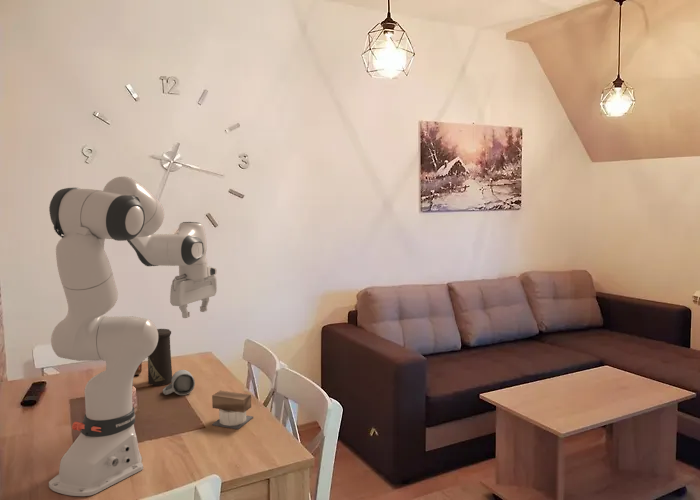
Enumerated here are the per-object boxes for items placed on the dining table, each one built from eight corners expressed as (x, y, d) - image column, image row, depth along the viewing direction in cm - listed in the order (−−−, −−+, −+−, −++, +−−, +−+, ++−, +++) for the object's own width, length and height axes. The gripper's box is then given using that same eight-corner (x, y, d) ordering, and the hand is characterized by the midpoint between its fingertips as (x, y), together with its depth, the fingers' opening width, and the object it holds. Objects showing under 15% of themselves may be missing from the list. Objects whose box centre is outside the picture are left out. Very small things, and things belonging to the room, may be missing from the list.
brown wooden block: (243, 412, 165) (243, 399, 165) (212, 408, 169) (212, 395, 169) (251, 407, 170) (251, 394, 169) (220, 402, 173) (220, 390, 173)
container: (146, 380, 208) (144, 328, 206) (171, 377, 211) (169, 326, 209) (149, 387, 200) (146, 333, 198) (174, 384, 204) (172, 331, 202)
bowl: (237, 427, 165) (237, 414, 164) (214, 423, 167) (214, 410, 167) (251, 416, 172) (250, 404, 172) (229, 413, 175) (228, 401, 174)
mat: (238, 429, 164) (238, 428, 164) (212, 425, 167) (212, 423, 167) (253, 417, 172) (253, 416, 172) (228, 414, 176) (228, 412, 175)
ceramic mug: (192, 386, 201) (191, 365, 200) (195, 393, 194) (194, 372, 193) (161, 391, 197) (160, 370, 196) (164, 398, 190) (162, 377, 189)
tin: (123, 368, 222) (122, 348, 221) (131, 367, 224) (130, 346, 223) (135, 378, 211) (134, 356, 210) (143, 376, 213) (142, 355, 212)
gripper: (181, 277, 166) (183, 322, 167) (219, 268, 185) (220, 308, 186) (164, 276, 168) (165, 320, 169) (203, 267, 187) (205, 307, 188)
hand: (195, 314), depth 178 cm, fingers open, 8 cm apart
